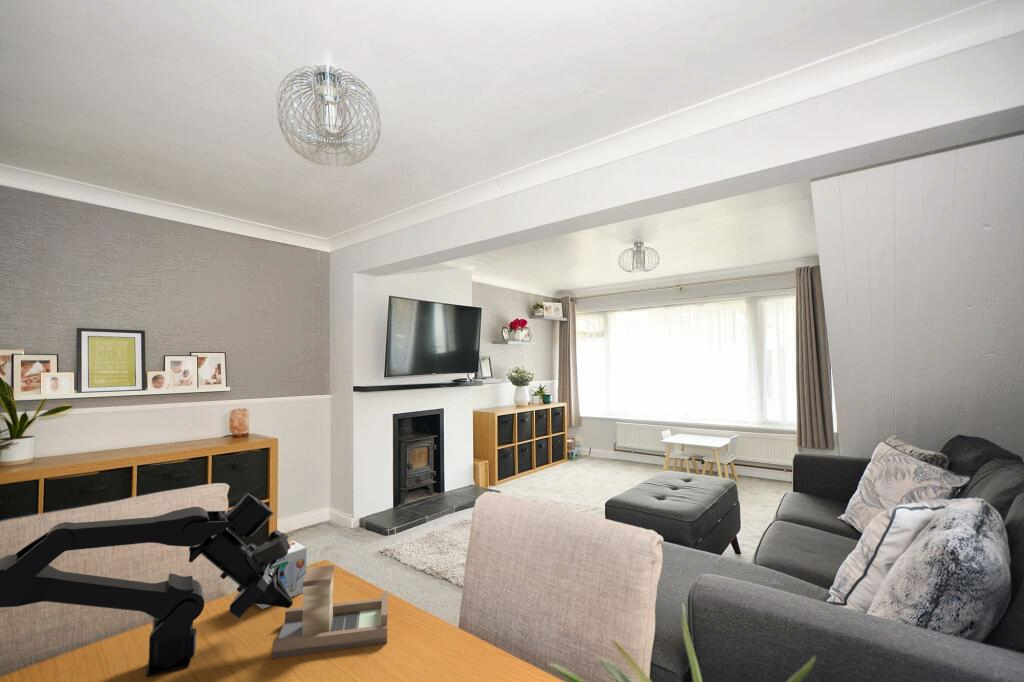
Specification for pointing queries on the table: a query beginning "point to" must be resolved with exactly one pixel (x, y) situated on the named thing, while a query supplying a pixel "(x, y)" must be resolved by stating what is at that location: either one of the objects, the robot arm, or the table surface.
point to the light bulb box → (292, 570)
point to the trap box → (335, 629)
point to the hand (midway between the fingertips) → (291, 605)
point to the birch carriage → (317, 600)
